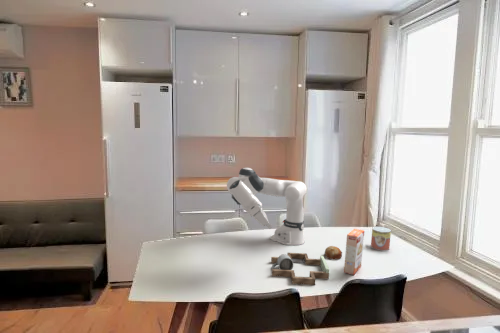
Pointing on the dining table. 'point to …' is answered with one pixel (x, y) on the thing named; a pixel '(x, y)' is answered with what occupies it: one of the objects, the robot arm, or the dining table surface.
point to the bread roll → (333, 252)
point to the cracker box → (353, 251)
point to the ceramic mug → (283, 263)
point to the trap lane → (300, 259)
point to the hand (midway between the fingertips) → (270, 227)
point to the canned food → (380, 238)
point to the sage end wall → (324, 265)
